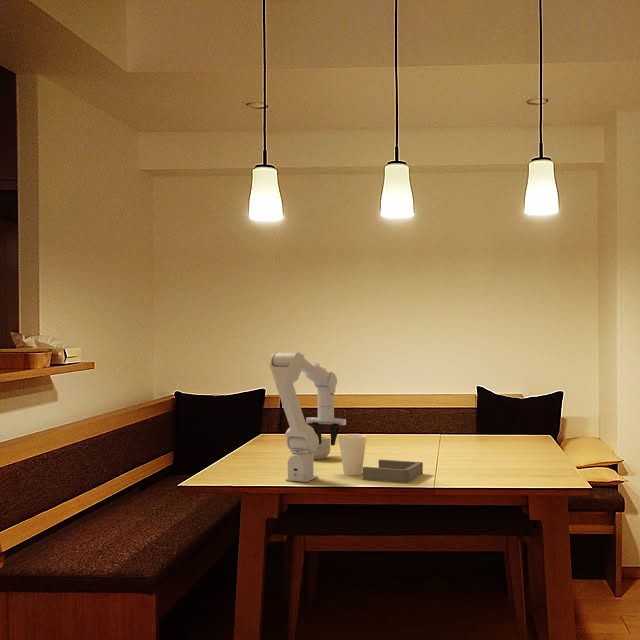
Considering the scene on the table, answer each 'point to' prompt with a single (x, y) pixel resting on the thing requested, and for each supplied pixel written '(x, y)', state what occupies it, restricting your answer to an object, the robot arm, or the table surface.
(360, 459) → the foam cup
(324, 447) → the teacup
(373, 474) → the bay
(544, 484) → the table surface
